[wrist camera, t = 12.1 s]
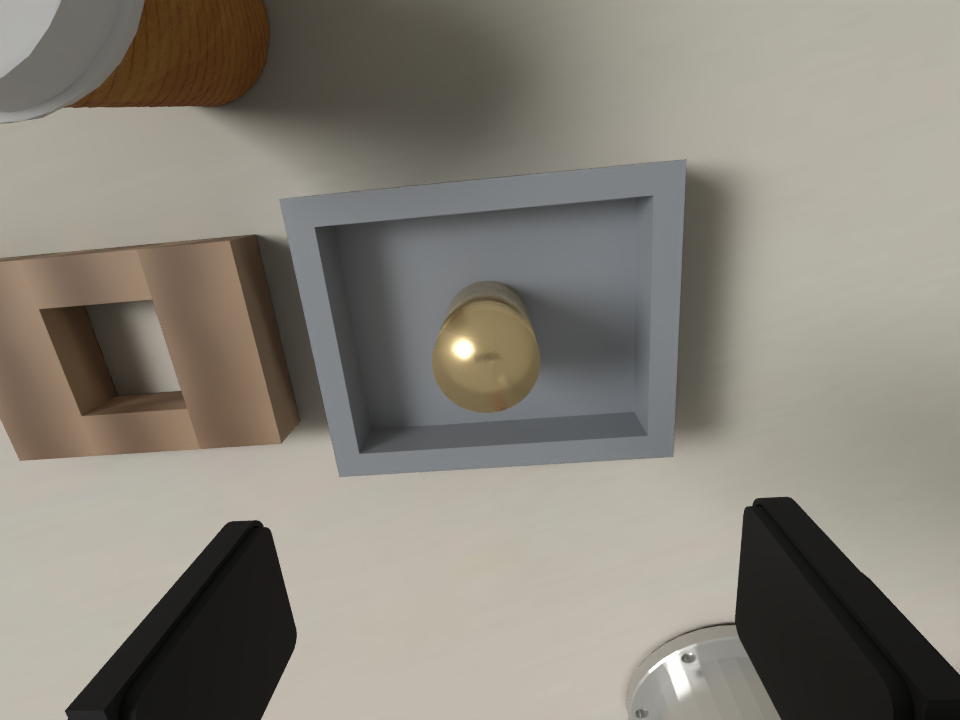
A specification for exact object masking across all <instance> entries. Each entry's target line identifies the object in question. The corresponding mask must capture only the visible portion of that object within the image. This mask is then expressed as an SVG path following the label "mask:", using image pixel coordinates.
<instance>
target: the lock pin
mask: <svg viewBox="0 0 960 720" xmlns="http://www.w3.org/2000/svg"><path fill="white" fill-rule="evenodd" d="M432 370H433V374H434V377H435V380H436V382H437V384H438V386H439V388H440V389H441V391H442V392H443V393H444V394H445V395H446V396H447V398H449V399H450V400H451V401H452V402H454V403H455V404H457V405H458V406H460V407H462V408H464V409H467V410H470V411H474V412H480V413H493V412H499V411H503V410H506V409H508V408H511V407H513V406H514V405H516V404H518V403H519V402H520V401H522V400H523V399H524V398H525V397H526V396H527V395H528V394H529V393H530V391H531V390H532V388H533V387H534V385H535V383H536V381H537V379H538V375H539V371H540V352H539V348H538V345H537V341H536V338H535V334H534V330H533V327H532V323H531V320H530V316H529V312H528V309H527V306H526V304H525V302H524V300H523V299H522V297H521V296H520V295H519V294H518V293H517V292H516V291H515V290H514V289H512V288H511V287H509V286H507V285H505V284H503V283H500V282H495V281H481V282H476V283H473V284H471V285H468V286H467V287H465V288H463V289H462V290H461V291H460V292H459V293H458V294H457V295H456V296H455V297H454V299H453V300H452V302H451V304H450V306H449V308H448V311H447V314H446V316H445V319H444V321H443V324H442V327H441V329H440V332H439V335H438V337H437V340H436V343H435V345H434V348H433V353H432Z"/></svg>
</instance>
